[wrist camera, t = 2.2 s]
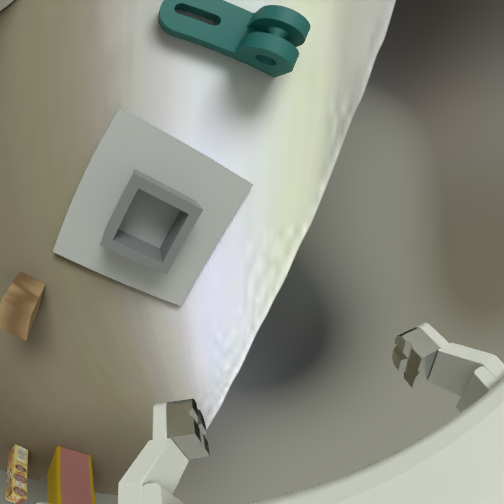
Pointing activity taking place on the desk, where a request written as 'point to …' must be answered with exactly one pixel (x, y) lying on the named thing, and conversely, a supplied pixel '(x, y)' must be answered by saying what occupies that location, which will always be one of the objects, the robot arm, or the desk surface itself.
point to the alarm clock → (70, 478)
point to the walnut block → (21, 305)
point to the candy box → (17, 475)
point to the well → (149, 210)
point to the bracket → (240, 32)
